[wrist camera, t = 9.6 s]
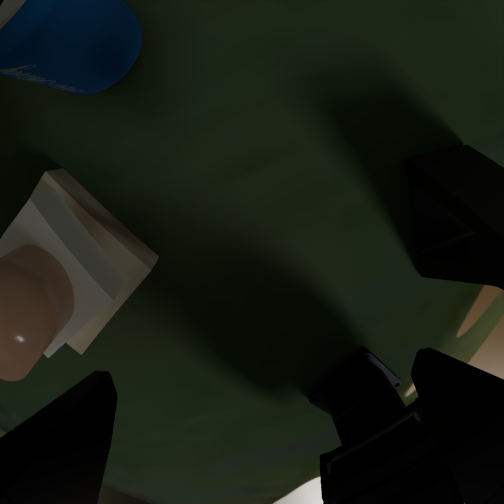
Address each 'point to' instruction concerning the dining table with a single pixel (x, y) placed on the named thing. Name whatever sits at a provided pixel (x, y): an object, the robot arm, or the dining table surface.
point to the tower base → (110, 240)
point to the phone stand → (458, 215)
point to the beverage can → (68, 42)
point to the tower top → (67, 257)
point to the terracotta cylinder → (30, 307)
